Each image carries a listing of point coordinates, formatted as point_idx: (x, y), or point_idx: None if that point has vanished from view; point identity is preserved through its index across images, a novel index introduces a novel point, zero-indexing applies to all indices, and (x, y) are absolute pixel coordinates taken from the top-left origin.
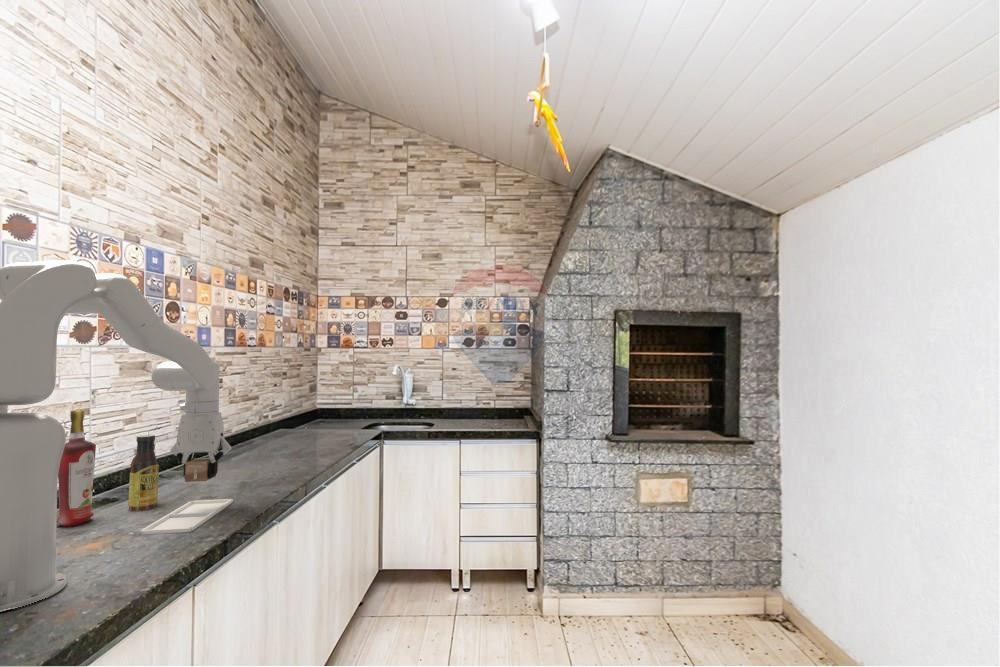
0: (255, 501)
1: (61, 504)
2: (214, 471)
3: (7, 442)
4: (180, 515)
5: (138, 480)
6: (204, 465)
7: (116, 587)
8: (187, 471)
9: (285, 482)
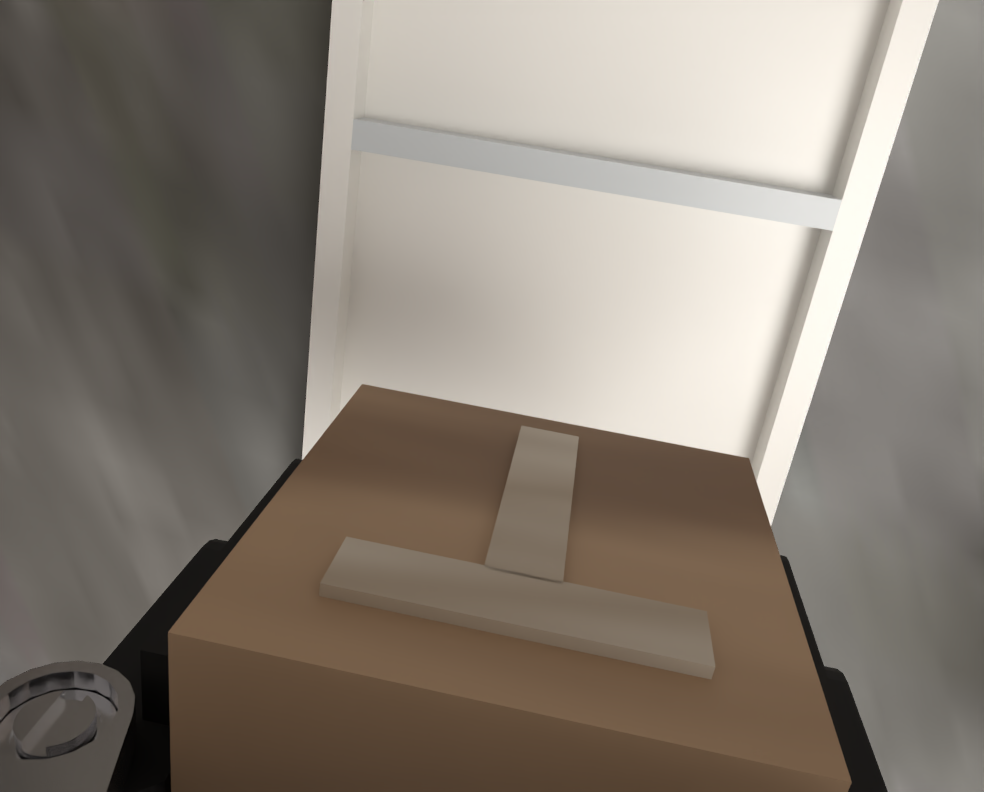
0: (143, 571)
1: None
2: (193, 558)
3: None
4: (706, 177)
5: None
6: (277, 569)
7: None
8: (734, 569)
9: None
